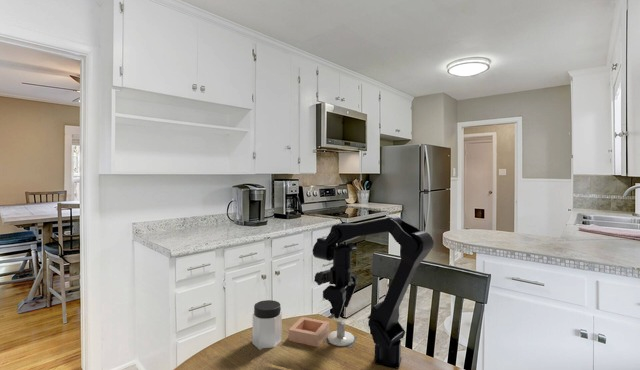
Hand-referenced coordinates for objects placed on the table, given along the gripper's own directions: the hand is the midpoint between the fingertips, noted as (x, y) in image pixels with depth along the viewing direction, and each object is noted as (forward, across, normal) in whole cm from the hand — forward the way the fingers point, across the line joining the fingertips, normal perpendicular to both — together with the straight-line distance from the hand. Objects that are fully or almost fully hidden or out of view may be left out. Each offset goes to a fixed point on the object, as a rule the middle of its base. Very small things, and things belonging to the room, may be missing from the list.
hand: (341, 312), depth 101 cm
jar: (+9, +10, -21) cm, 25 cm away
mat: (+9, 0, 0) cm, 9 cm away
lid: (+9, 0, 0) cm, 9 cm away
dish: (+9, +2, -10) cm, 14 cm away
